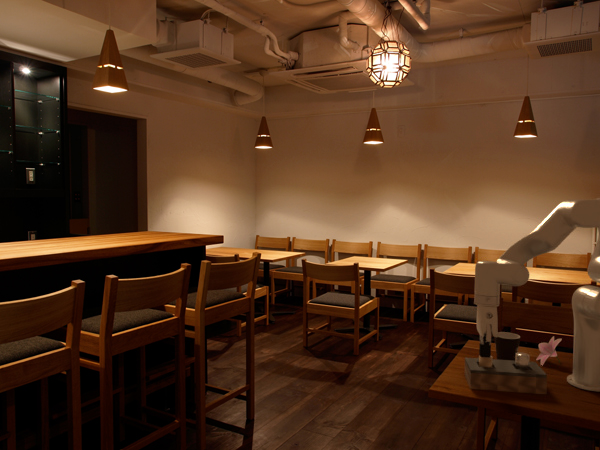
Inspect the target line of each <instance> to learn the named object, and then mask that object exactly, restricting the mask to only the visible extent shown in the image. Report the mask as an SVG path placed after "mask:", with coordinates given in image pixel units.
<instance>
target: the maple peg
mask: <svg viewBox="0 0 600 450" xmlns="http://www.w3.org/2000/svg"><path fill="white" fill-rule="evenodd" d="M478 358H479V367H491V368H492V359H493V356H492V355H491V357H480V355H478Z"/></svg>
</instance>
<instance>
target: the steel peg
mask: <svg viewBox="0 0 600 450" xmlns="http://www.w3.org/2000/svg"><path fill="white" fill-rule="evenodd" d="M529 361H530V354H528V353H527V352H526V353H525V352H519V351H518V353H516V357H515V369H522V370H529Z"/></svg>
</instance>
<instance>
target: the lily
mask: <svg viewBox="0 0 600 450" xmlns="http://www.w3.org/2000/svg"><path fill="white" fill-rule="evenodd" d="M562 339H563V338H557V339H555V336H552V337H551V338H550V340H549V342H541V343H539V344H538V350H539V352H540V353H539V355H538V356H537V357H536V359H535V360H536V361H539V360H540V366H541V365H542V366H543V365H544V364H545V362H546V361H547V359H548V358H549V357H550V358H552V357H553V358H554V357H555V358H556V359H557V361H558V362H559V364H561V363H562V362H561V361H560V359H559V358H558V354H557V351H556V347H557V346H558V345H559V343H560V342H561V341H562Z"/></svg>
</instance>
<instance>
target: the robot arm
mask: <svg viewBox="0 0 600 450" xmlns="http://www.w3.org/2000/svg"><path fill="white" fill-rule="evenodd" d="M577 228H581V229H585V228H587V229H589V228H590V229H591V228H592V229H593V228H596V229H597V232H598V236H597V242H596V243H595V247H594V250H593V253H592V256H591V258H590V260H589V263H588V266H587V275H588V276H589V278H590V279H591V280H592V281H594V282H596V283H599V284H600V197H597V198H594V199H567V200H563V201H561V202H560V203H558V205H557V206H555V208H554V209H553V210H552V211H551V212H550V213H549V214H548V215H547V216H546V217H544V219H543V220H542V221H541V222H540V223H539V224H538V225H537V226H536V227H535V228H534V229H533V230H532V231H531V232H529V233H528V234H526V235H524V236H523V237H522V238H521V239H519V240H517V241H516V242H515V243H513V244H512V245H510V246H509V247H508V248H507V249H506V250H505V251H504V252H503V254H501V255H500V257H498V259H496V261H492V260H480V261H477V262H476V264H475V266H474V267H475V269H474V290H473V291H474V295H473V296H474V297H473V298H474V299H473V305H476V331H477V333H478V334H479V343H478V344H479V346H478V347H479V348H478V349H479V350H478V352H479V355H480V357H491V356H492V355H491V354H492V336H493V338H494V339H495V338H497V337H498V327H499V326H498V324H499V323H498V307H499V306H500V295H501V293H500V292H501V285H503V286H505V285H506V286H510V287H511V286H512V287H521V286H523V285H525V284H526V283H527V282H528V281H529V279H530V271H529V269H528V268H527V266H526V265H525V264H526V263H528V262H529V261H531V260H532V259H534V258H536V257H537V256H540V255H545V254H548V253H550V252H553V251H555V250H556V249H557V248H558V247H559V246H560V245H561V244H562V243H563V242H564V241H565V240H566V239H567V238H568V237H569V236H570V235H571V234H572V233H573V232H574V230H576V229H577ZM571 309H572V314H573V350H572V351H573V353H572V354H573V355H572V373H571V374H569V375H567V376H566V382H568V384H570V385H571V386H573V387H576V388H577V389H582V390H586V391H591V392H598V393H599V392H600V287H599V286H595V285H590V284H589V285H583V286H582V285H581V286H580V287H578V288H577V289H576V290H574V292H573V294H572V297H571ZM479 355H478V356H479Z"/></svg>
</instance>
